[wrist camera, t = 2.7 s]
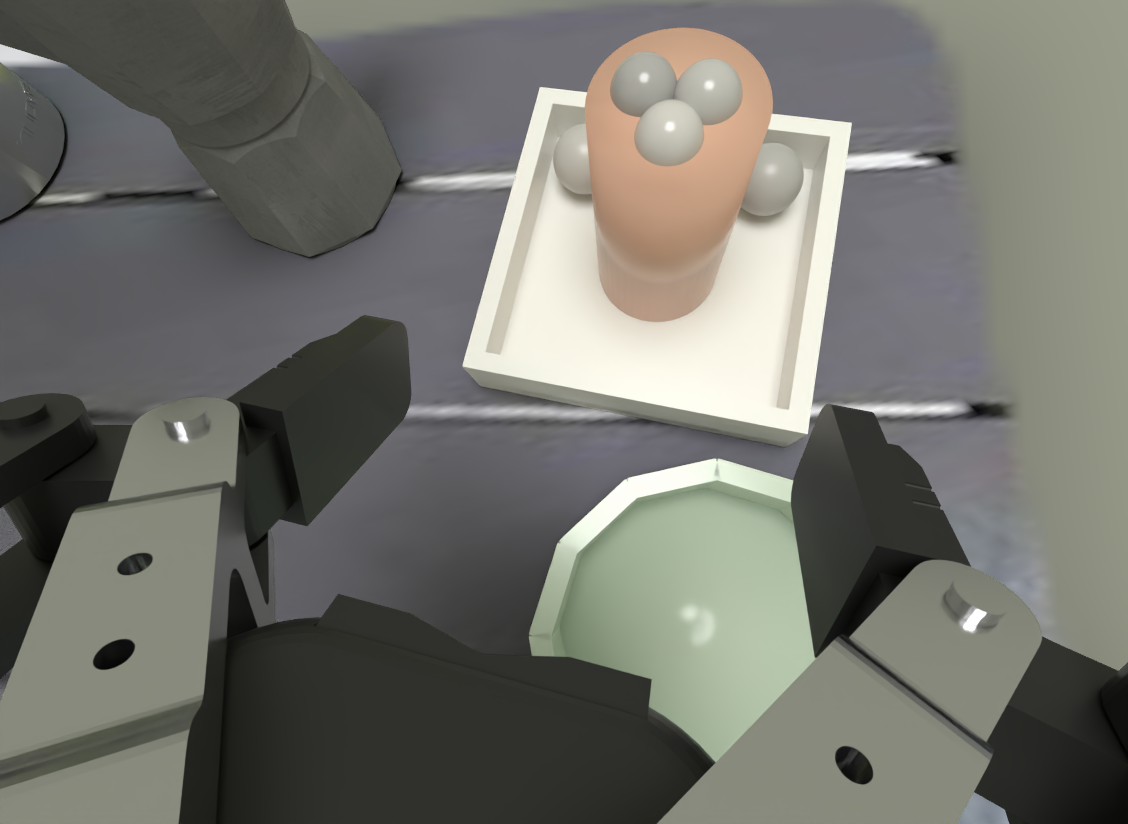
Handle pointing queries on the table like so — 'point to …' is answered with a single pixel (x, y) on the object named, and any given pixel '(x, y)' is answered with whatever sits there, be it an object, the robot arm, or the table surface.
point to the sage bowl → (686, 595)
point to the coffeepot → (232, 106)
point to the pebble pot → (671, 164)
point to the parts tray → (678, 347)
